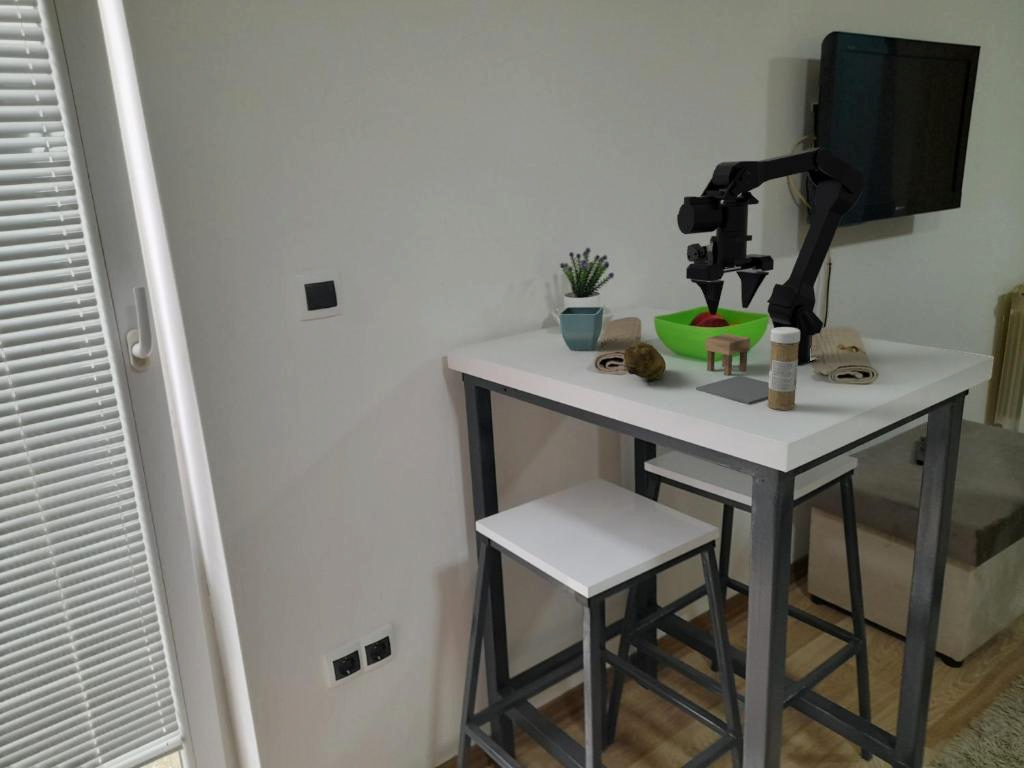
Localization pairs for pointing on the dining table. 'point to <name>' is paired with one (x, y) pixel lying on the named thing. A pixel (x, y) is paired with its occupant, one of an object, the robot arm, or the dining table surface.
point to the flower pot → (581, 326)
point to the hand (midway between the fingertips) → (729, 311)
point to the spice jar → (783, 368)
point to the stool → (727, 351)
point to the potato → (644, 361)
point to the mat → (739, 389)
